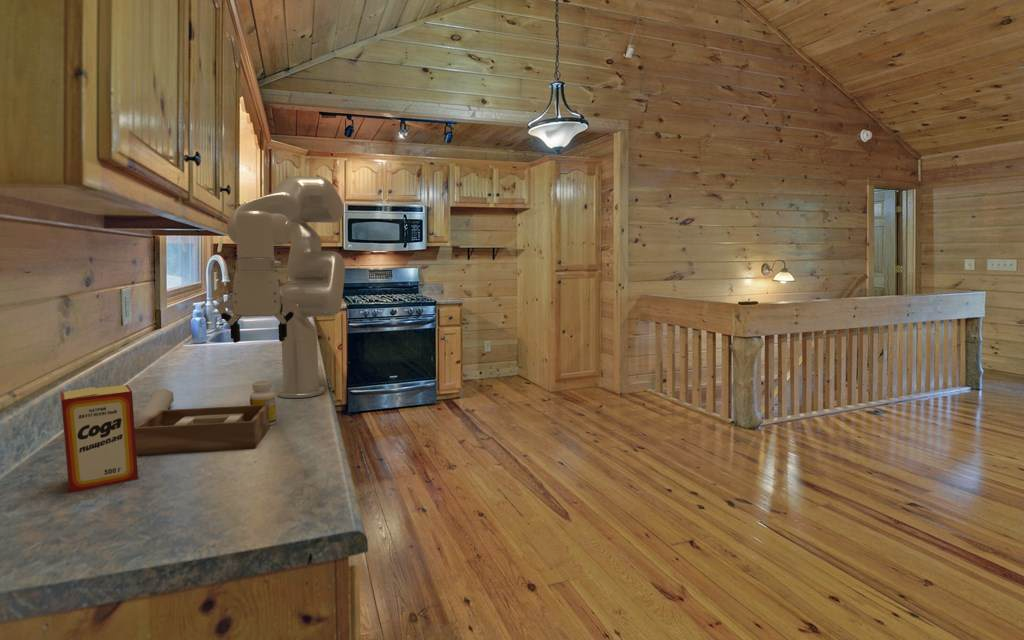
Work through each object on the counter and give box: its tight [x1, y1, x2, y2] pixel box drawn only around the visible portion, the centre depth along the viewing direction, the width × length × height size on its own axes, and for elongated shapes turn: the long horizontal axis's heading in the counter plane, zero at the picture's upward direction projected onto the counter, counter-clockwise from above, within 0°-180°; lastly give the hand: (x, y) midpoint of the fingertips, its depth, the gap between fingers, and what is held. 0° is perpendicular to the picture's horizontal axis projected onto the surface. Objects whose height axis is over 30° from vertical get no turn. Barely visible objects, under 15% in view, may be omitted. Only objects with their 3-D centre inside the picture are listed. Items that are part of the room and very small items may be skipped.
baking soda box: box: [59, 384, 139, 494], centre depth 97 cm, size 10×6×16 cm
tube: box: [134, 388, 175, 426], centre depth 135 cm, size 5×5×25 cm
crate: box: [134, 405, 270, 457], centre depth 118 cm, size 14×22×6 cm, turn 102°
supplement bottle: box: [249, 380, 277, 427], centre depth 131 cm, size 5×5×10 cm
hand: (259, 341), depth 129 cm, fingers open, 9 cm apart
